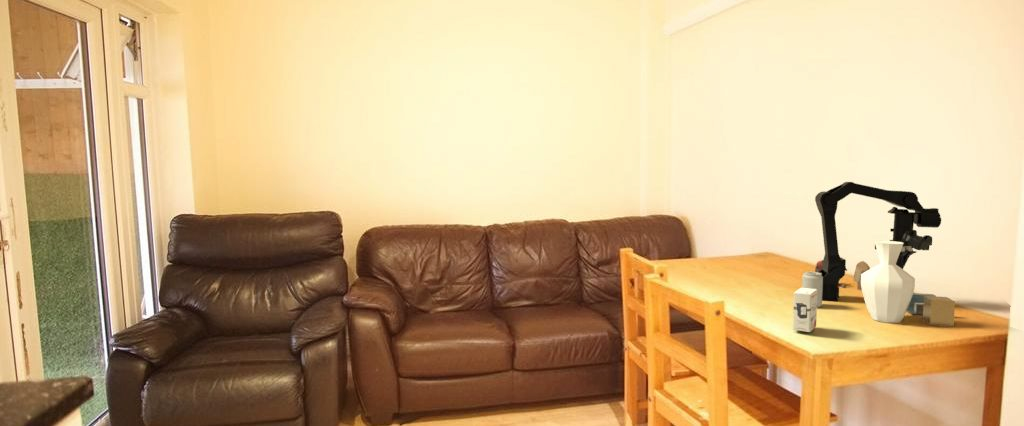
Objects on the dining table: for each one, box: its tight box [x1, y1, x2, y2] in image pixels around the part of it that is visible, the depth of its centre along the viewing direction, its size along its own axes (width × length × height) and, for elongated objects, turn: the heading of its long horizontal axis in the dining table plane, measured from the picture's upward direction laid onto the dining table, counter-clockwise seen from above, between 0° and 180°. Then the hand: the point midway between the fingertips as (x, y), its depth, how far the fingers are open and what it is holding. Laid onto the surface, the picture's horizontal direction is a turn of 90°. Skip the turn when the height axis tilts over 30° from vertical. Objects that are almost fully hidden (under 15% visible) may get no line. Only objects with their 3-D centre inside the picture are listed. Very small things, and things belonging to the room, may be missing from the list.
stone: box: [853, 260, 871, 291], centre depth 222 cm, size 19×10×4 cm
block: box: [922, 295, 956, 328], centre depth 171 cm, size 6×6×8 cm
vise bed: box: [906, 304, 923, 317], centre depth 187 cm, size 11×16×1 cm
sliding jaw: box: [909, 292, 936, 304], centre depth 194 cm, size 18×2×3 cm, turn 71°
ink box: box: [792, 287, 818, 333], centre depth 167 cm, size 8×5×12 cm, turn 140°
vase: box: [861, 240, 916, 324], centre depth 176 cm, size 14×14×25 cm
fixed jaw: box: [914, 303, 924, 314], centre depth 180 cm, size 10×2×3 cm, turn 71°
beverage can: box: [801, 271, 823, 309], centre depth 194 cm, size 6×6×12 cm
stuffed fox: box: [814, 259, 847, 288], centre depth 222 cm, size 8×11×12 cm
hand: (900, 269), depth 196 cm, fingers closed
